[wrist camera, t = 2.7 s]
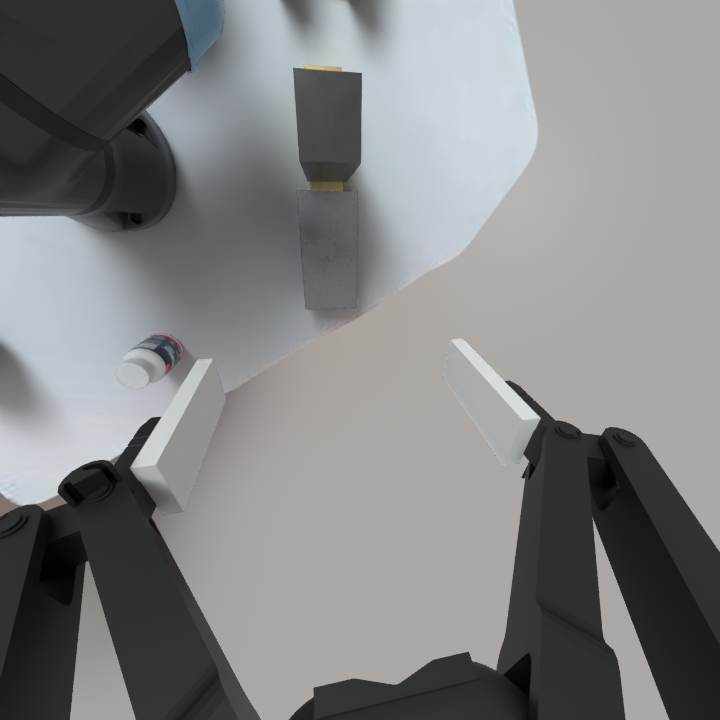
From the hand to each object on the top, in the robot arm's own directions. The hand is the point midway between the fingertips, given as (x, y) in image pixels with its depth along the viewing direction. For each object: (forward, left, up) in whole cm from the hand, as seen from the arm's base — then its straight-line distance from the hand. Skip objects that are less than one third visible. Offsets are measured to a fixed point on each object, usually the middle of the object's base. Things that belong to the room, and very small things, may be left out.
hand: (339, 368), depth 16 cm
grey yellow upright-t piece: (-3, +9, -29) cm, 30 cm away
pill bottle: (-20, -19, -30) cm, 41 cm away
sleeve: (-1, +3, -29) cm, 30 cm away
